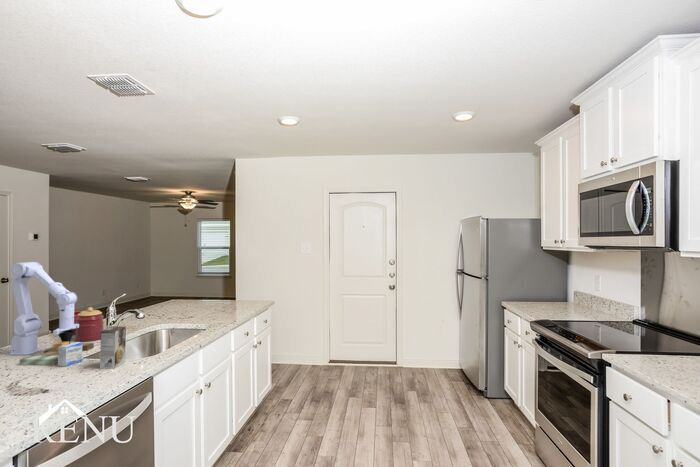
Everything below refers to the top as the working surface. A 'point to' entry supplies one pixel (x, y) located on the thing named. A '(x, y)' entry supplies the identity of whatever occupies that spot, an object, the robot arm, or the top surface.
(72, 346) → the medicine box
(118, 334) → the coffee box
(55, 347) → the block
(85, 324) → the canister
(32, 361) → the wooden slab structure
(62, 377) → the top surface
